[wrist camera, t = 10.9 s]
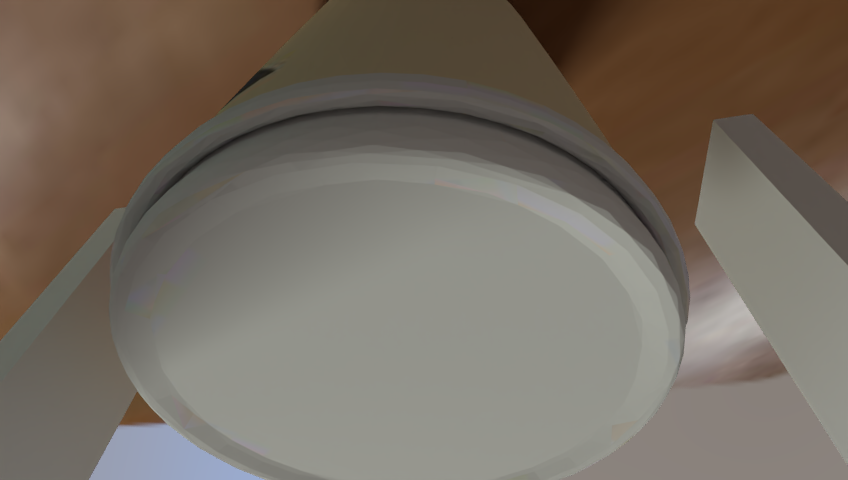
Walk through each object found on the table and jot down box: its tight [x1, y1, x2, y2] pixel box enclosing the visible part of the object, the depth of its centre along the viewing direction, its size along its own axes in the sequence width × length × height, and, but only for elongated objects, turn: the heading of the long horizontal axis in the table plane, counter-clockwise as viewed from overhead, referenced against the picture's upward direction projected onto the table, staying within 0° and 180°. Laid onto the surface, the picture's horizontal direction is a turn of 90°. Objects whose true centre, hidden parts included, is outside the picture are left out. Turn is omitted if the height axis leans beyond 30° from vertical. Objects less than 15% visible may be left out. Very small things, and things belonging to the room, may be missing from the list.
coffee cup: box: [109, 0, 690, 480], centre depth 13 cm, size 9×9×12 cm
